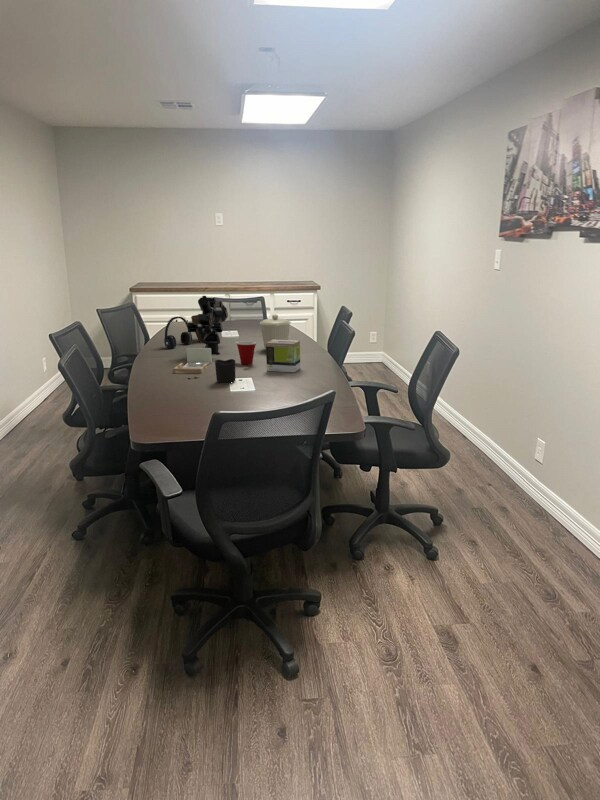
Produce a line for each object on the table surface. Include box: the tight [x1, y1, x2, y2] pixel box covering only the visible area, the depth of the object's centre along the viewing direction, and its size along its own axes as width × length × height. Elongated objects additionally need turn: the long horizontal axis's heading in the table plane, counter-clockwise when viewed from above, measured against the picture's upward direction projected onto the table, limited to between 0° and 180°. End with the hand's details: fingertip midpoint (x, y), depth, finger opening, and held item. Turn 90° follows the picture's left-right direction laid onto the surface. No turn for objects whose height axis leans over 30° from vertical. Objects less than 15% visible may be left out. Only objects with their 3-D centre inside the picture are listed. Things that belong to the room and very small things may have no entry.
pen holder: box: [214, 358, 236, 384], centre depth 257 cm, size 9×9×10 cm
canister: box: [259, 314, 292, 350], centre depth 322 cm, size 18×18×21 cm
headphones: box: [163, 316, 193, 349], centre depth 336 cm, size 20×7×18 cm, turn 148°
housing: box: [172, 362, 209, 374], centre depth 276 cm, size 14×14×3 cm
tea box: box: [265, 339, 301, 373], centre depth 277 cm, size 15×10×15 cm
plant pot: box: [190, 314, 214, 343], centre depth 352 cm, size 15×15×16 cm
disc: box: [188, 361, 204, 367], centre depth 284 cm, size 8×8×2 cm
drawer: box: [181, 347, 213, 369], centre depth 284 cm, size 14×13×9 cm
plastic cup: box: [235, 340, 257, 366], centre depth 290 cm, size 11×11×12 cm
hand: (202, 340), depth 296 cm, fingers closed
